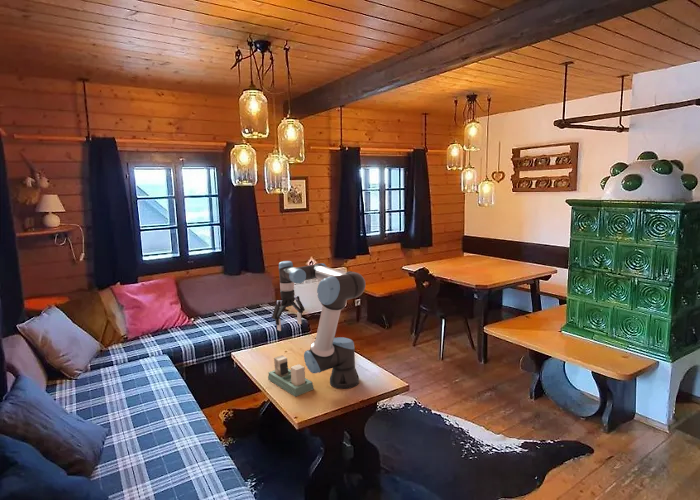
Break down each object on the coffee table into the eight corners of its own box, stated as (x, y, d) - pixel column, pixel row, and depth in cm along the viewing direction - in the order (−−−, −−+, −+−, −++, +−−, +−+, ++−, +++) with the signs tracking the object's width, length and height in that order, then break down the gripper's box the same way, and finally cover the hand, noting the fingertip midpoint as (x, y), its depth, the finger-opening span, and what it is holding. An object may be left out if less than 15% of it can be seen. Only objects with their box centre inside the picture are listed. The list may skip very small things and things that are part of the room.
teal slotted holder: (313, 389, 219) (312, 366, 217) (295, 396, 212) (293, 373, 210) (286, 373, 239) (284, 352, 237) (268, 379, 232) (266, 358, 230)
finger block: (289, 376, 230) (287, 358, 229) (280, 379, 227) (279, 361, 226) (283, 372, 235) (282, 355, 233) (275, 375, 231) (274, 357, 230)
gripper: (301, 284, 247) (303, 320, 251) (263, 293, 230) (266, 331, 234) (309, 286, 242) (311, 322, 245) (271, 295, 225) (274, 334, 228)
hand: (289, 327), depth 239 cm, fingers open, 13 cm apart
